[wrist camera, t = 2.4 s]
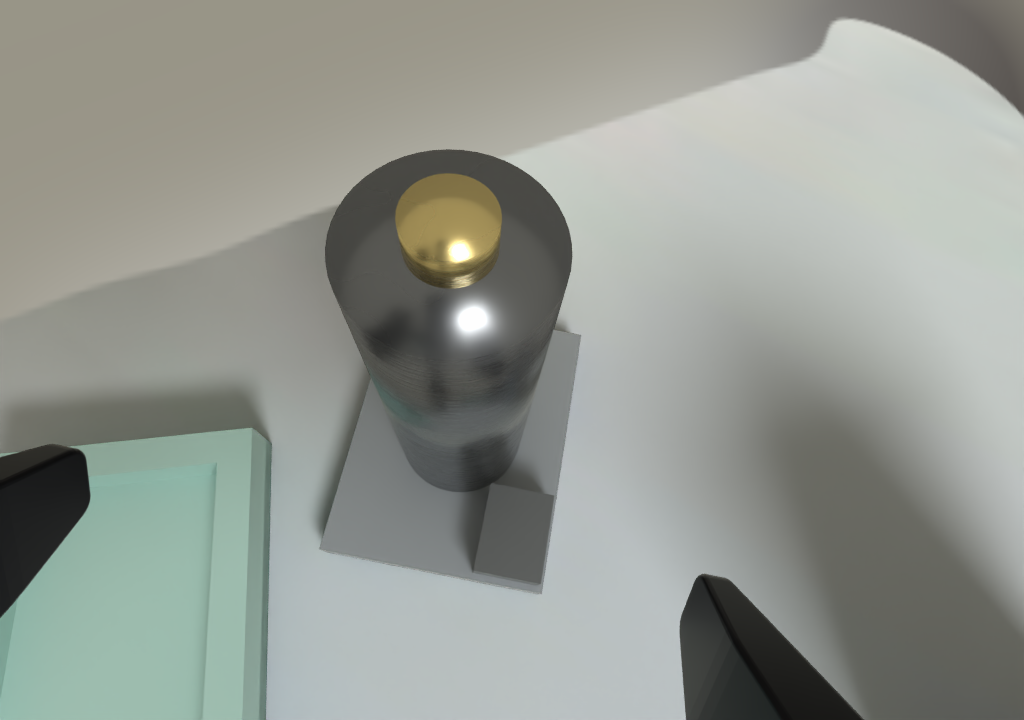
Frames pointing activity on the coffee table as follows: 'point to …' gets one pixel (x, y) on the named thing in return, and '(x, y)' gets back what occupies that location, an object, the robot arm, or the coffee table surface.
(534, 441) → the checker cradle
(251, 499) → the trough
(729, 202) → the coffee table surface
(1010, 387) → the coffee table surface
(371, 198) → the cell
